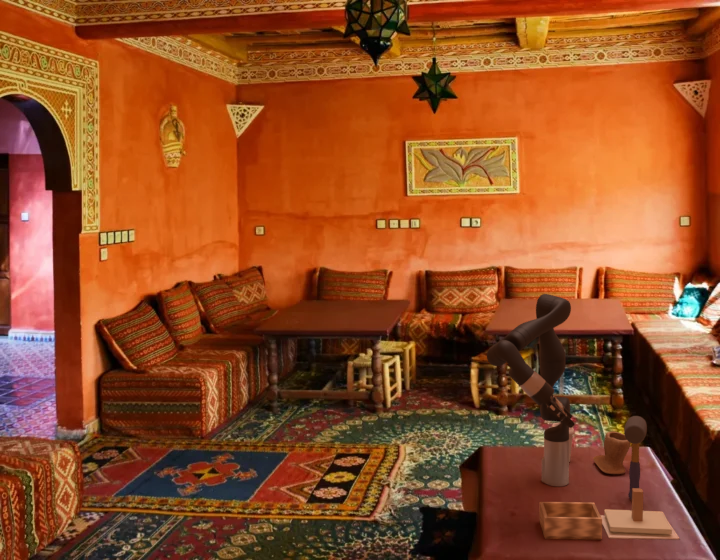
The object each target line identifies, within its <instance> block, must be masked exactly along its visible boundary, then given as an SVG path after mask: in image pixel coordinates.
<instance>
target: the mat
mask: <svg viewBox="0 0 720 560" xmlns="http://www.w3.org/2000/svg"><path fill="white" fill-rule="evenodd" d="M600 516H601V518H602V528H603V529H604V531H605V533H606V536H607V538H608V539H618V540H619V539H623V540H624V539H625V540H627V539H628V540H680V537H679V535H678V534H677V533H676V531H675V529H674V528H673V527H672V525H671V524H670V522H669V520H668V519H667V521H668V523H669V525H670V527H671V529H672V534H650V533H627V532H613V531H610V529H609V526H608V523H607V520H606V517H605V514H604V515H603V514H600Z"/></svg>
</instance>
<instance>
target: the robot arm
mask: <svg viewBox="0 0 720 560" xmlns="http://www.w3.org/2000/svg"><path fill="white" fill-rule="evenodd" d="M571 311H572V306H571V302H570V301H569V300H568V299H566V298H563V297H562V296H561V297H560V296H556V295H554V294H548V293H542V294H541V295H540V296H539V297H538V298H537V300H536V305H535V315H536V318H535V319H531V320H528V321H526V322H523V323H521V324H518V325H517V326H516V327H515V328H513V329H512V330H511V331H510V332H509V333H508V334H507V335H505V336H504V337H503V338H501V339H500V340H499V341H497V342H495V344H493V345H491V346H490V347H489V348H488V350H487V352H486V359H487V360H486V361H487V362H488V363H489V364H490V365H491V366H493V367H501V366H503V365H505V364H508V366H509V370H508V376H509V377H510V378H511V379H512V380H513V381H514V382H515V383H516V384H517V385H518V386H519V387H520V388H521V389H522V391H523V392H524V393H525V394H526V395H527V396H528V397H529V398H530V399H531V400H532V401H533V402H534V403H535V404H536V405H537V406H539V412H540V417H541V419H542V421H543V420H544V421H547V422H556V423H560V424H559V425H557V426H555V427H552V426H551V427H548V428H546V429H545V430H544V432H543V456H541V483H544V484H546V485H548V486H552V487H565V486H568V485H569V483H570V482H569V481H570V480H569V479H570V477H569V476H570V474H569V473H570V471H569V469H570V465H569V464H570V463H569V428H572V427H573V428H574V426H575V425H576V424H575V421H573V419H572V417H573V415H572V413H571V402H570V399H569V398H568V397H565V396H555V395H554V393H555V389H554V386H555V384H556V383H557V382H558V381H559V379H560V378H561V377H562V375H564V372H565V371H566V352H565V348H564V346H563V344H562V341H561V340H560V338H559V337H558V335H557V334H556V331H555V328H556V327H558V326H560V325H562V324H563V323H565V322H567V320H568V318H569V317H570V315H571ZM537 338H538V344H539V348H538V349H539V354H538V355H539V372H540V373H538V372H537V371H535V370H534V369H533V368H532V367H531V366H530V365H529V364H528V363H526V361H525V359H524V358H523V356H522V354H521V352H520V351H522V350H523V349H524V348H525V347H527V346H528V345H529V344H530V343H532V342H533V341H534V340H536V339H537Z"/></svg>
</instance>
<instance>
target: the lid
mask: <svg viewBox="0 0 720 560" xmlns="http://www.w3.org/2000/svg"><path fill="white" fill-rule="evenodd" d="M603 511H604V515H605V517H606V520H607V523H608V526H609V529H610V531H613V532H627V533H650V534H672V529H671V527H670V525H671V524H670V525H669V523H670V522H669V520H668V519H667V517H666V515H665V513H664V512H663V511H659V510H658V511H655V510H653V511H652V510H644V490H643V489H642V488H640V487H639V488H632V501H631V510H630V509H606V508H605V509H604V510H603ZM667 520H668V521H667ZM668 522H669V523H668Z"/></svg>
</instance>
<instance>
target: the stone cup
mask: <svg viewBox="0 0 720 560" xmlns="http://www.w3.org/2000/svg"><path fill="white" fill-rule="evenodd" d="M630 447H631V443H630V442H629V441H628V440H627V439H626V438H625V434H624V433H621V432H618V431H608V432H607V433H606V434H605V436H604V442H603V451H604V454H600V455H599V454H598V455H596V456H594V457H593V458H592V459H593V462H594V463H595V465H596V466H597V467H598V468H599V469H600V470H601V472H603V473H605V474H607V475H620V474H621V475H622V474H625V473H626V468H625V466H624V460H625V458H626V456H627V454H628V452H629V450H630Z"/></svg>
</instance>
